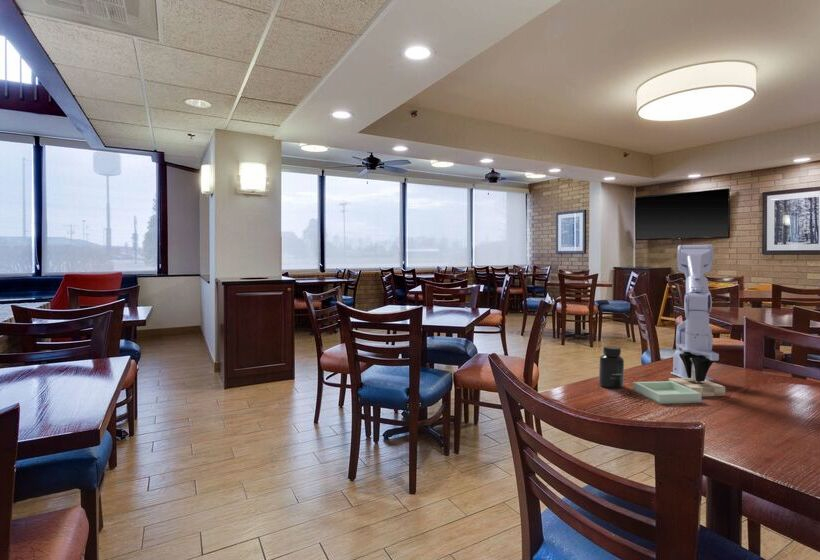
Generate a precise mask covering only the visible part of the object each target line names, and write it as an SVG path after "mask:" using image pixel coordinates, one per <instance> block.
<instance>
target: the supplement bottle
mask: <svg viewBox="0 0 820 560" xmlns="http://www.w3.org/2000/svg"><path fill="white" fill-rule="evenodd" d="M602 352H603V354H602V355H601V356H599V367H598V369H599V372H598V376H599V377H598V383H599V386H601V387H603V386H604V387H603V388H606V387H608V388H607V389H611V388H620V389H622V388H623V387H624V378H625V377H624V373H625V371H624V370H625V360H624V358H623V357H622V356H621V354H622V353H621V352H622V350H621V347H619V346H612V345H611V346H608V345H607V346H606V345H605V346H603V351H602Z"/></svg>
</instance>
